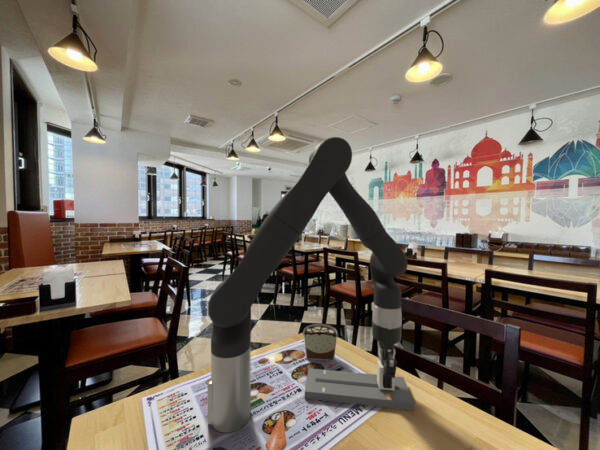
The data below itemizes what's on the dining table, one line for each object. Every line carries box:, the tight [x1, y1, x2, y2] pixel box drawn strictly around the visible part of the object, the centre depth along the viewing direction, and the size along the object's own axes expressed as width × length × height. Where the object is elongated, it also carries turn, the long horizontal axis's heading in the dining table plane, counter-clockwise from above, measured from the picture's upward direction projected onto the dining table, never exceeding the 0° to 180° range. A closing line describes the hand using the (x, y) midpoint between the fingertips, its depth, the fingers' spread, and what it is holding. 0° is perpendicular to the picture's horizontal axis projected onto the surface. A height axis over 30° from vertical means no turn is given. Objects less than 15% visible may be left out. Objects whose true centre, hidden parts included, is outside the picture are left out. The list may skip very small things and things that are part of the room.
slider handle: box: [376, 359, 395, 391], centre depth 67 cm, size 4×4×6 cm
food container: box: [302, 323, 339, 362], centre depth 86 cm, size 12×6×10 cm, turn 84°
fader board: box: [304, 367, 415, 412], centre depth 68 cm, size 28×10×2 cm, turn 82°
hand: (385, 381), depth 67 cm, fingers closed on slider handle, 3 cm apart
